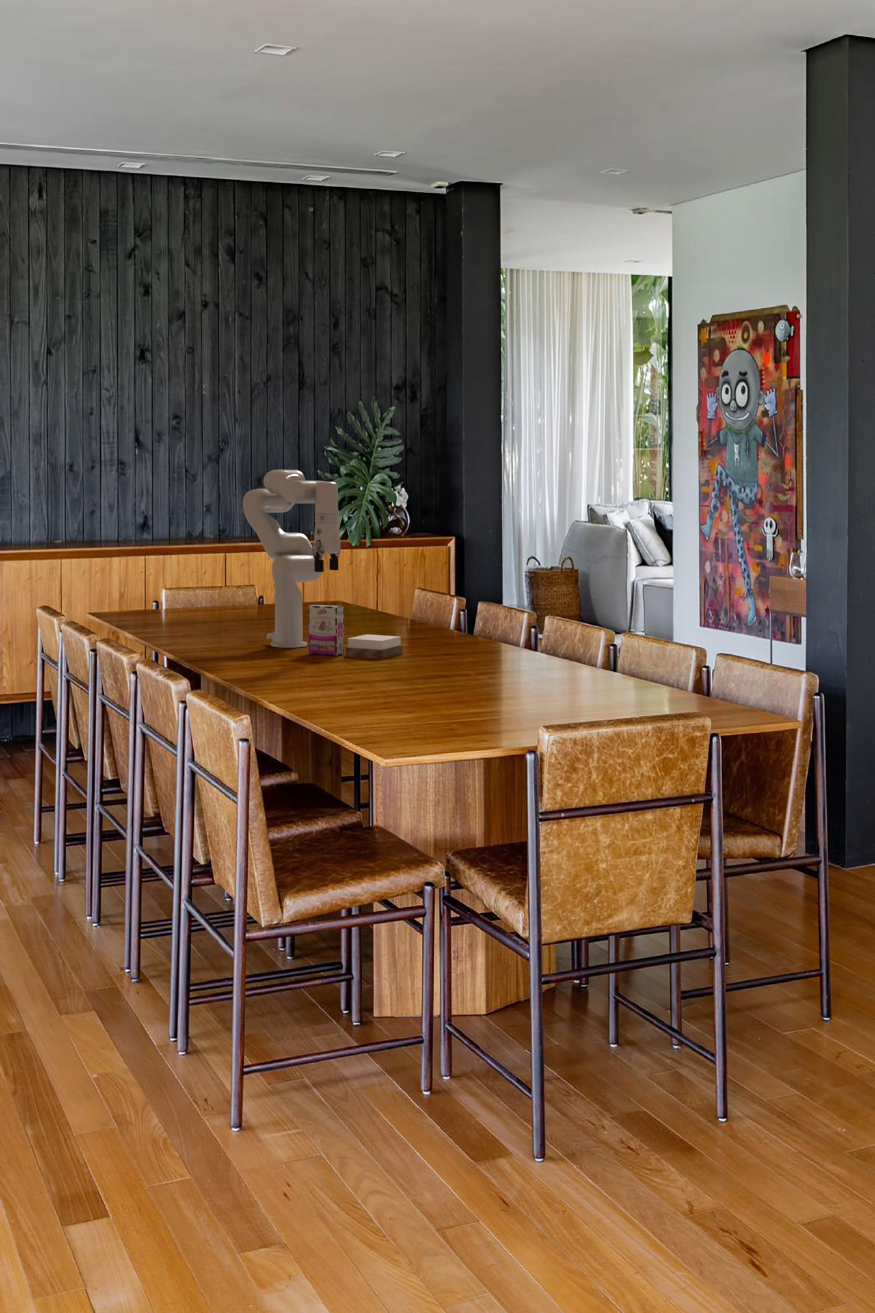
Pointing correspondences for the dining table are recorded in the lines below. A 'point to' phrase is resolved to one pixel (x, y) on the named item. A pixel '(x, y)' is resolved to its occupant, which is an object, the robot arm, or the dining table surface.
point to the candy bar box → (326, 630)
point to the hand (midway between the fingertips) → (326, 570)
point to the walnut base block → (374, 652)
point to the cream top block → (374, 642)
